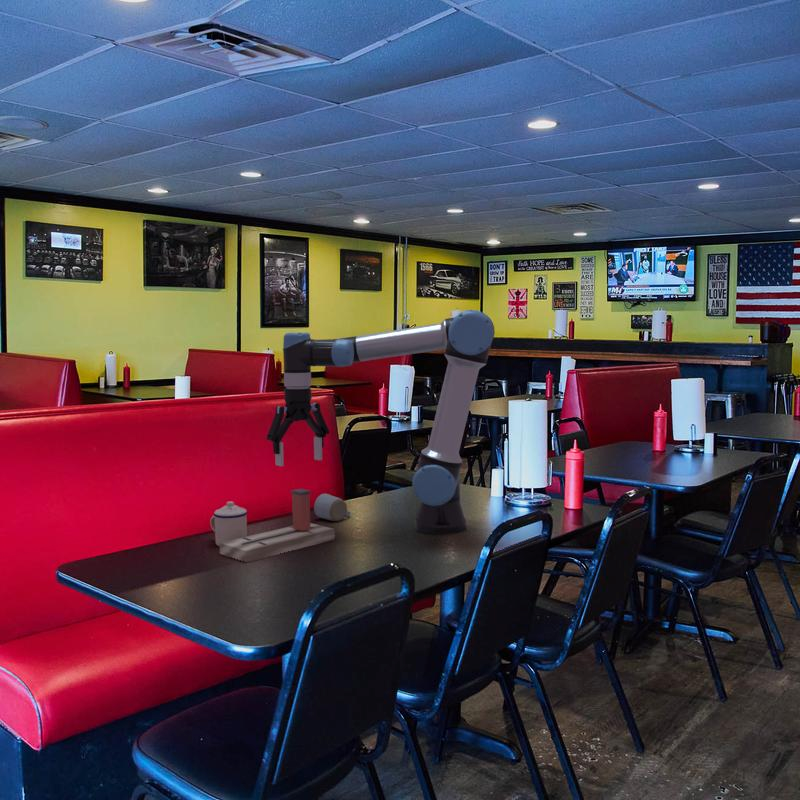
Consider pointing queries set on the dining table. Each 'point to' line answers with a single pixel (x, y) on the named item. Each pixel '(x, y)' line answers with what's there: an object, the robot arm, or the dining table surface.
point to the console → (275, 542)
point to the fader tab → (301, 509)
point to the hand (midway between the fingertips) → (299, 462)
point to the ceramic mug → (330, 508)
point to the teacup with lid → (229, 523)
